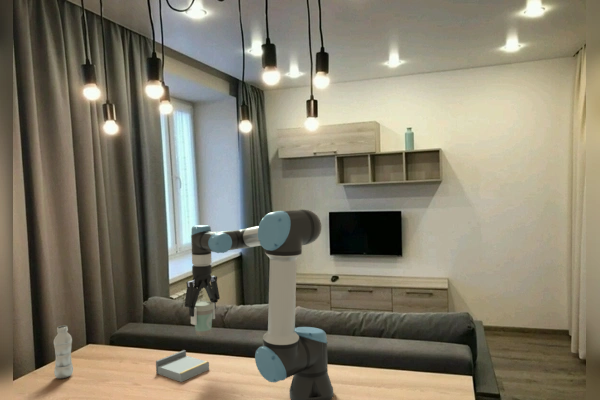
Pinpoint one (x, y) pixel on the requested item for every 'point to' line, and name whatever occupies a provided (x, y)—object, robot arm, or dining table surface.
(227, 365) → the dining table surface
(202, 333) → the coffee cup
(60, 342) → the plastic bottle
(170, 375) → the plate
